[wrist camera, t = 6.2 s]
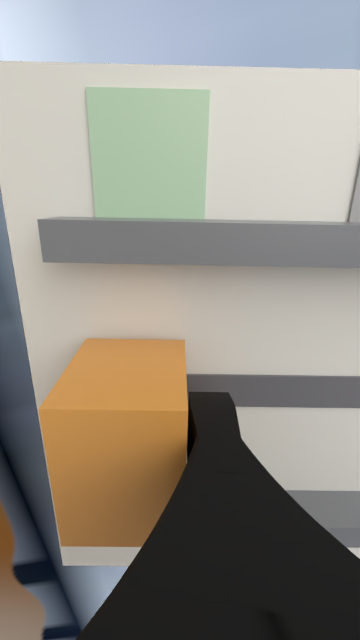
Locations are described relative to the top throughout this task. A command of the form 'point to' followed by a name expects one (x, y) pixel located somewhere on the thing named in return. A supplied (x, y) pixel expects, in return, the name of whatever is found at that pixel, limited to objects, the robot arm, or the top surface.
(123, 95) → the panel
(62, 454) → the lever
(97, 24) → the top surface
